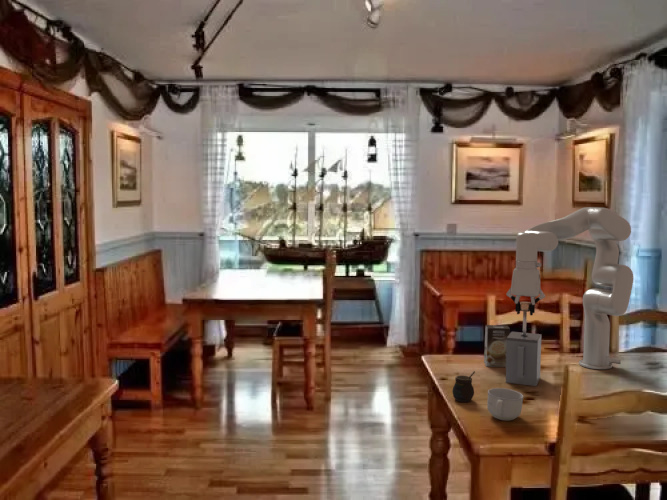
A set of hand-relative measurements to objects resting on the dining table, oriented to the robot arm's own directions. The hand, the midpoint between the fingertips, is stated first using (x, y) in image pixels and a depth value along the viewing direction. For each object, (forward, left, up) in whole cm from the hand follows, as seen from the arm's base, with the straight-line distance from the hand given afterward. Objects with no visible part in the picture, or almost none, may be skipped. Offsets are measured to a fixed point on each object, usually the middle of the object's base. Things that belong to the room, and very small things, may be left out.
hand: (524, 313), depth 233 cm
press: (0, +2, -25) cm, 25 cm away
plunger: (0, 0, -13) cm, 13 cm away
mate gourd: (+15, +32, -26) cm, 44 cm away
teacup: (0, +44, -26) cm, 51 cm away
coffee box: (+13, -17, -26) cm, 33 cm away
